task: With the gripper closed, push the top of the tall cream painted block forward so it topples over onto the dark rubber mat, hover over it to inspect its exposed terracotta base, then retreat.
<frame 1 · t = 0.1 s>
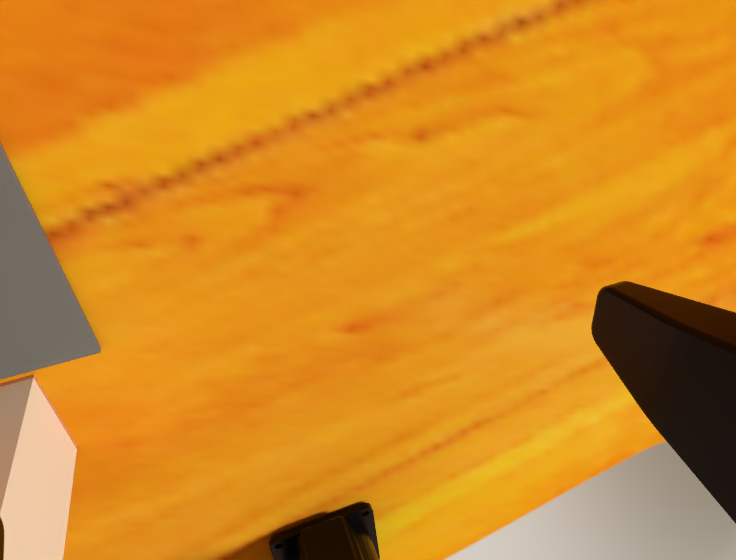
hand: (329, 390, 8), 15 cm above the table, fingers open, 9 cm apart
cream block: (0, 428, 23), on the table
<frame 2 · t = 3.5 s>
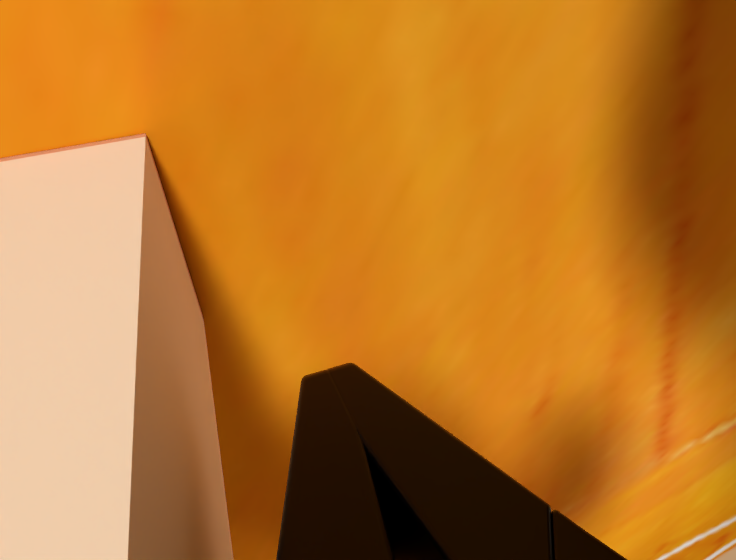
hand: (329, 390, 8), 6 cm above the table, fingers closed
cream block: (65, 259, 11), on the table, touching gripper
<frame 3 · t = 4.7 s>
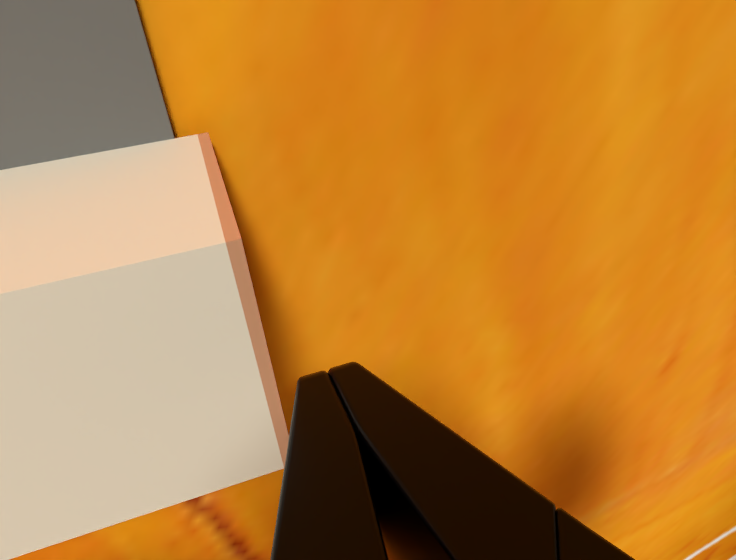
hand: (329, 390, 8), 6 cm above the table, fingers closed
cream block: (249, 289, 10), point 3 cm above the table, tilted 90°, touching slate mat
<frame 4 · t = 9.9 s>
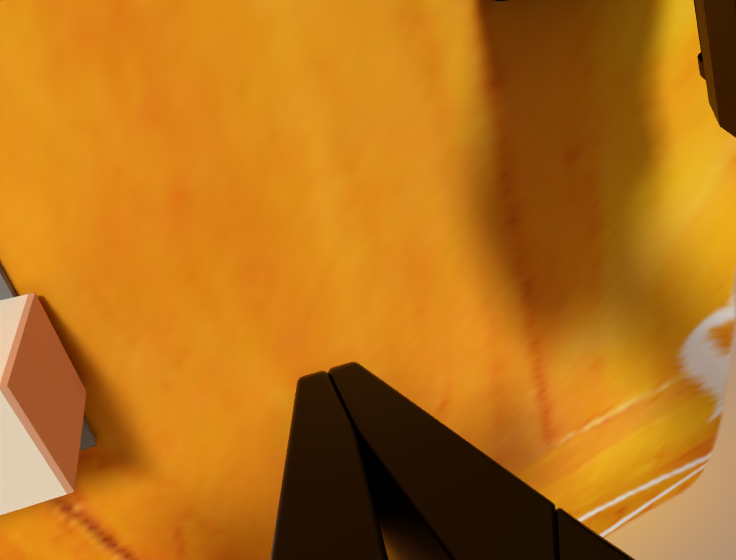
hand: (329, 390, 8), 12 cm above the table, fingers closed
cream block: (54, 389, 17), point 3 cm above the table, tilted 90°, touching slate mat
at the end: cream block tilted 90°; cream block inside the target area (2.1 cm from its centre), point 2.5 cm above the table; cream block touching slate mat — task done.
